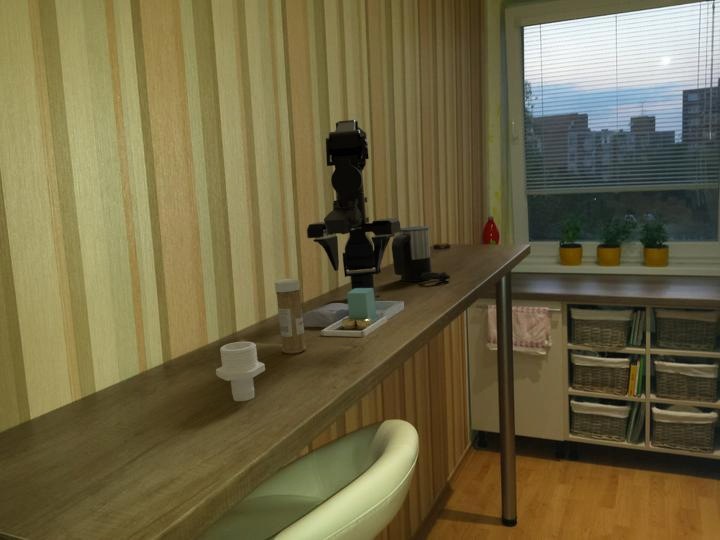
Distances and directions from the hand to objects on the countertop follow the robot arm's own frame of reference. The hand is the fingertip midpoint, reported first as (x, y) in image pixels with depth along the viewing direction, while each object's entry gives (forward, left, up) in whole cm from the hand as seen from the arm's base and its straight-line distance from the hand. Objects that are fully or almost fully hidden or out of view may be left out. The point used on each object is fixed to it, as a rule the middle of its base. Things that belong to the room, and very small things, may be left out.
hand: (356, 270), depth 134 cm
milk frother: (-52, -3, -12) cm, 53 cm away
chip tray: (+3, 0, -12) cm, 12 cm away
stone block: (-3, -10, -12) cm, 16 cm away
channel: (-9, 0, -12) cm, 15 cm away
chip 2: (+2, +2, -12) cm, 12 cm away
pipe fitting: (+42, -1, -12) cm, 44 cm away
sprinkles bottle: (+18, -6, -12) cm, 23 cm away
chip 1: (+2, -2, -12) cm, 12 cm away
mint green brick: (-1, 0, -12) cm, 12 cm away
